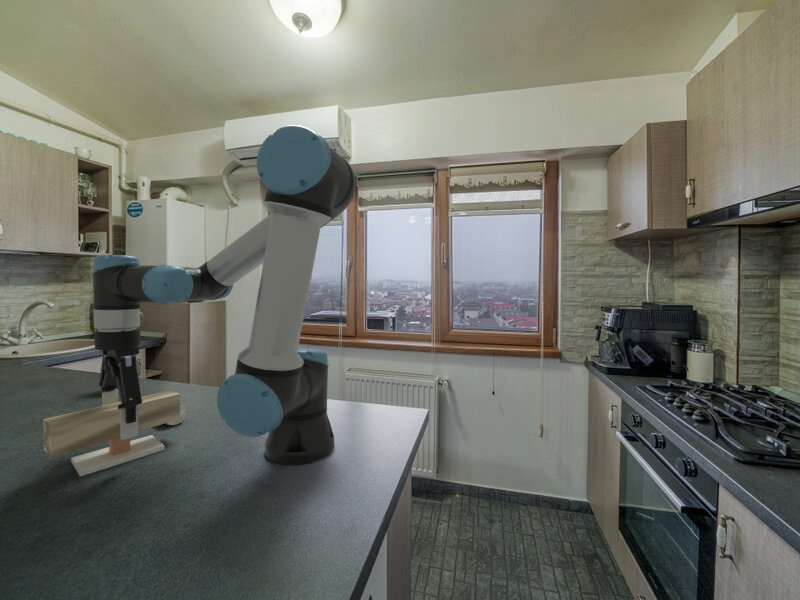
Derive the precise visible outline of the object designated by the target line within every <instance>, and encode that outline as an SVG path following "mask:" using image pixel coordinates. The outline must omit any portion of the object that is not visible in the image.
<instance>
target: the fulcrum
mask: <svg viewBox="0 0 800 600" xmlns="http://www.w3.org/2000/svg"><path fill="white" fill-rule="evenodd" d="M108 442H109V444H108V445H109V446H108V447H104V448H100V449H97V450H94V451H91V452H87V453H84V454H83V453H82V454H79V455H76V456H72V457H71V463H72V466H73V467H74V469H75V471H76V472H77V474H78V475H79V477H83V476H86V475H89V474H93V473H96V472H99V471H102V470H105V469H109V468H111V467H112V468H113V467H115V466H117V465H121V464H124V463H128V462H130V461H134V460H137V459H140V458H143V457H146V456H149V455H153V454H156V453H159V452H163V451H164V450H165V448H166V447H165V445H164V443H162V442H161V441H160V440H159V439H157V437H155V436H154V435H152V434H151V435H148V436H144V437H140V438H136V439H132V440H131V438H128V439H125V440H121V438H120V437H117V438H114V439H111V440H108Z"/></svg>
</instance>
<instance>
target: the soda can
mask: <svg viewBox="0 0 800 600" xmlns="http://www.w3.org/2000/svg"><path fill="white" fill-rule="evenodd" d="M186 413H187V412H186V408H185V406H183V405H182V404H180V419H178V420H174V421H171V422H168V423H164V424H166V425H167V426H176V425H178V424H180V423H182V421H183V420H184V419H185V417H186Z"/></svg>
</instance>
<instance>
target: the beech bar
mask: <svg viewBox="0 0 800 600" xmlns="http://www.w3.org/2000/svg"><path fill="white" fill-rule="evenodd" d="M141 399H142V403H141V404H138V432H139V431H140V432H141V431H143V430H147V429H151V428H153V427H158V426H161V425H163V424H165V423H168V422H171V421H174V420H178V419H180V405H181V394H180V393H179V392H176V391H173V390H165V391H161V392H157V393H153V394H148V395H145V396H141ZM129 400H132V398H131V399H129ZM120 404H122V403H121V401H119V402H117V403H112V404H108V405H104V406H102V405H100V406H96V407H91V408H87V409H82V410H78V411H74V412H69V413H65V414H61V415H55V416H51V417H48V418H44V419H43V421H42V422H43V423H42V425H43V427H42V428H43V450H44V452H45V453H46V454H47V455H49V456H50V457H51V458H53V457H56V456H59V455H63V454H67V453H70V452H73V451H76V450H77V451H78V450H81V449H83V448H86V447H90V446H93V445H97V444H100V443H103V442H107V441H109V440H111V439H114V438H117V437H120V409H118V408H117V407H118V405H120Z"/></svg>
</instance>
